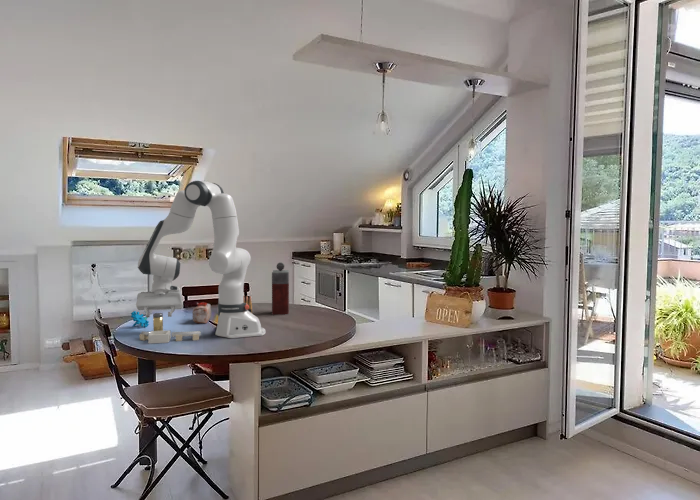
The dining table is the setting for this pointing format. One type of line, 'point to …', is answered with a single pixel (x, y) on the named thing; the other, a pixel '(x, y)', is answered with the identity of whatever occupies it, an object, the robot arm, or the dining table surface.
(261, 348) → the dining table surface
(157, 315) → the yellow jar
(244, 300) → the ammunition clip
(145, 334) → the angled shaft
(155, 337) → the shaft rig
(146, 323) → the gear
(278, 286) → the red grey bottle
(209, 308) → the food item
